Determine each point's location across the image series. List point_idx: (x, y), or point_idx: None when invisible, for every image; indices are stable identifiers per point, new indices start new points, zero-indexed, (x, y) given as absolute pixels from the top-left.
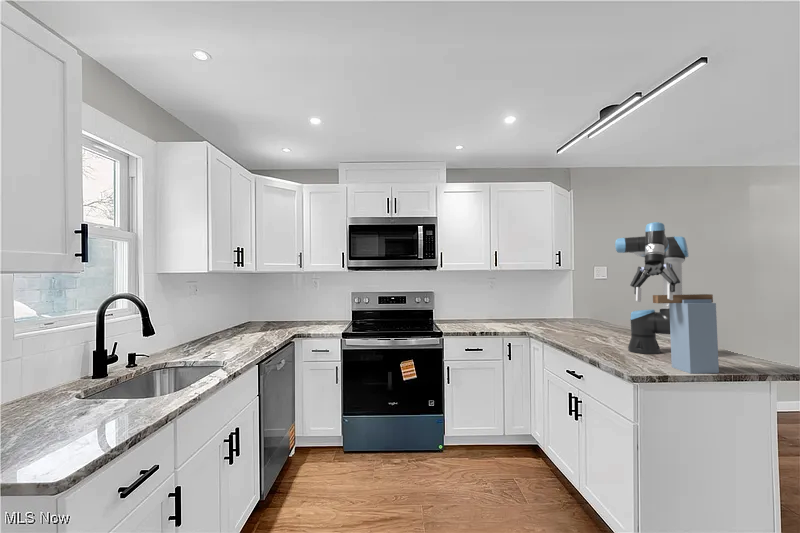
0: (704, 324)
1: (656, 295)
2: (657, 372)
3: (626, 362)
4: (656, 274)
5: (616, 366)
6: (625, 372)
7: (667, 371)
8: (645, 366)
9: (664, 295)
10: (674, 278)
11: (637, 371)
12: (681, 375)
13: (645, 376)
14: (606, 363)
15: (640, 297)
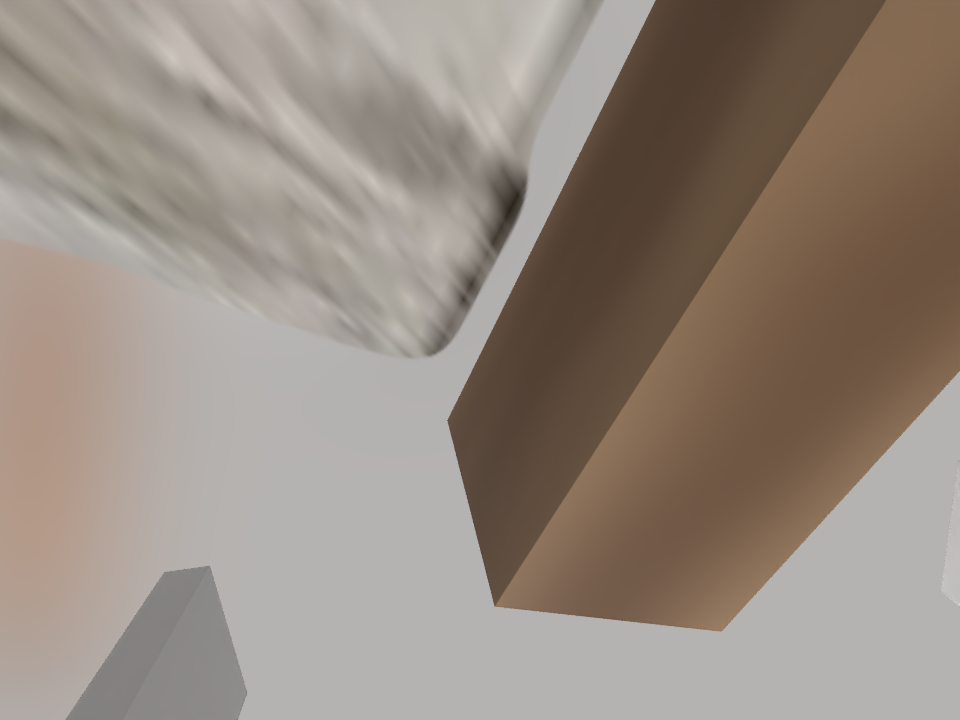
0: None
1: (677, 625)
2: (424, 154)
3: (27, 45)
4: None
5: (169, 257)
6: (343, 335)
7: (433, 54)
8: (232, 43)
9: (866, 464)
10: None
11: (350, 251)
12: (551, 85)
13: (462, 310)
14: (43, 243)
15: (165, 684)
